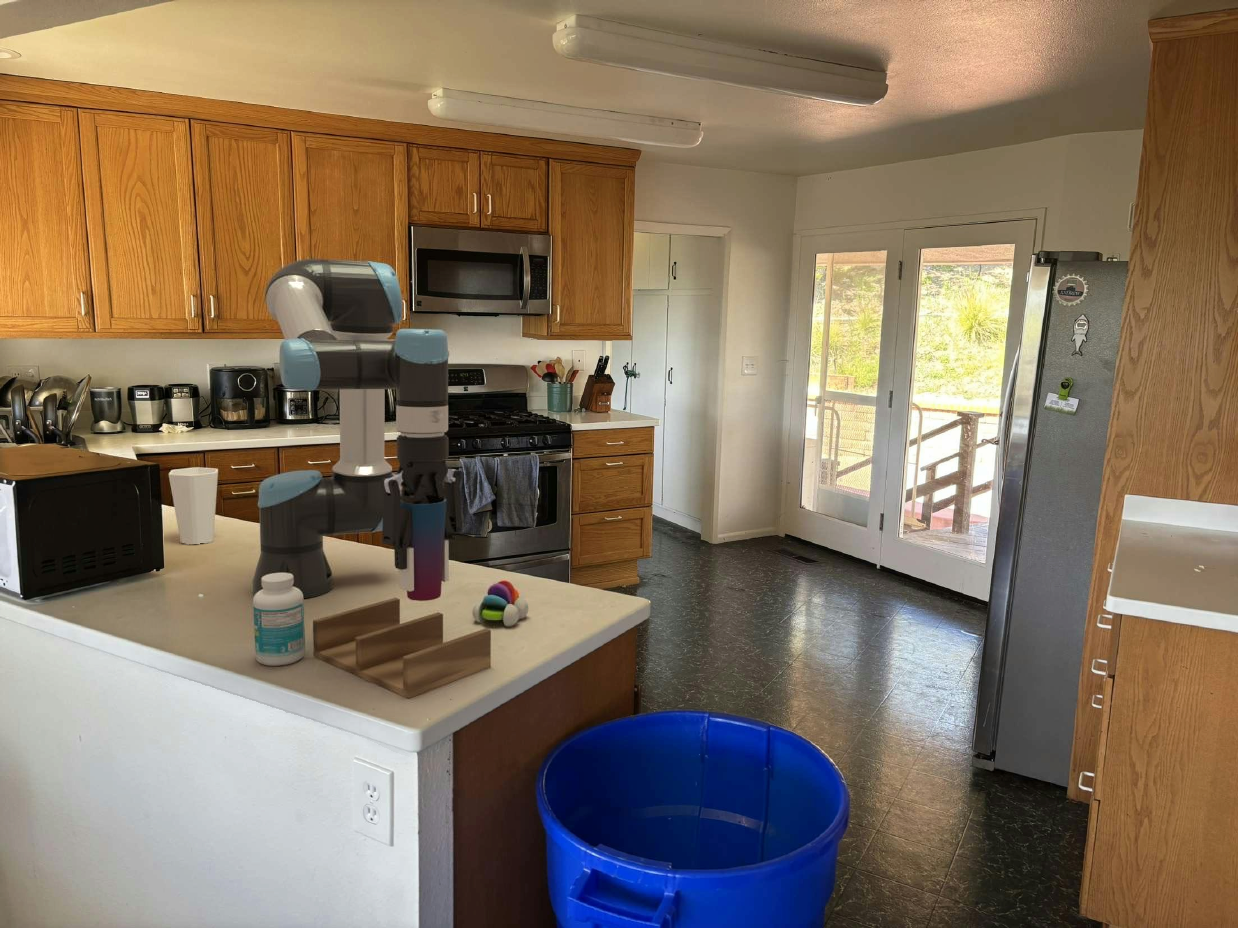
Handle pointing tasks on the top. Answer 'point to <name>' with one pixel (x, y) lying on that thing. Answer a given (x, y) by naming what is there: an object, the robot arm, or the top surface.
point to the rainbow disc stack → (501, 605)
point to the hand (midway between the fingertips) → (424, 583)
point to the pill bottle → (279, 621)
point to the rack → (398, 648)
